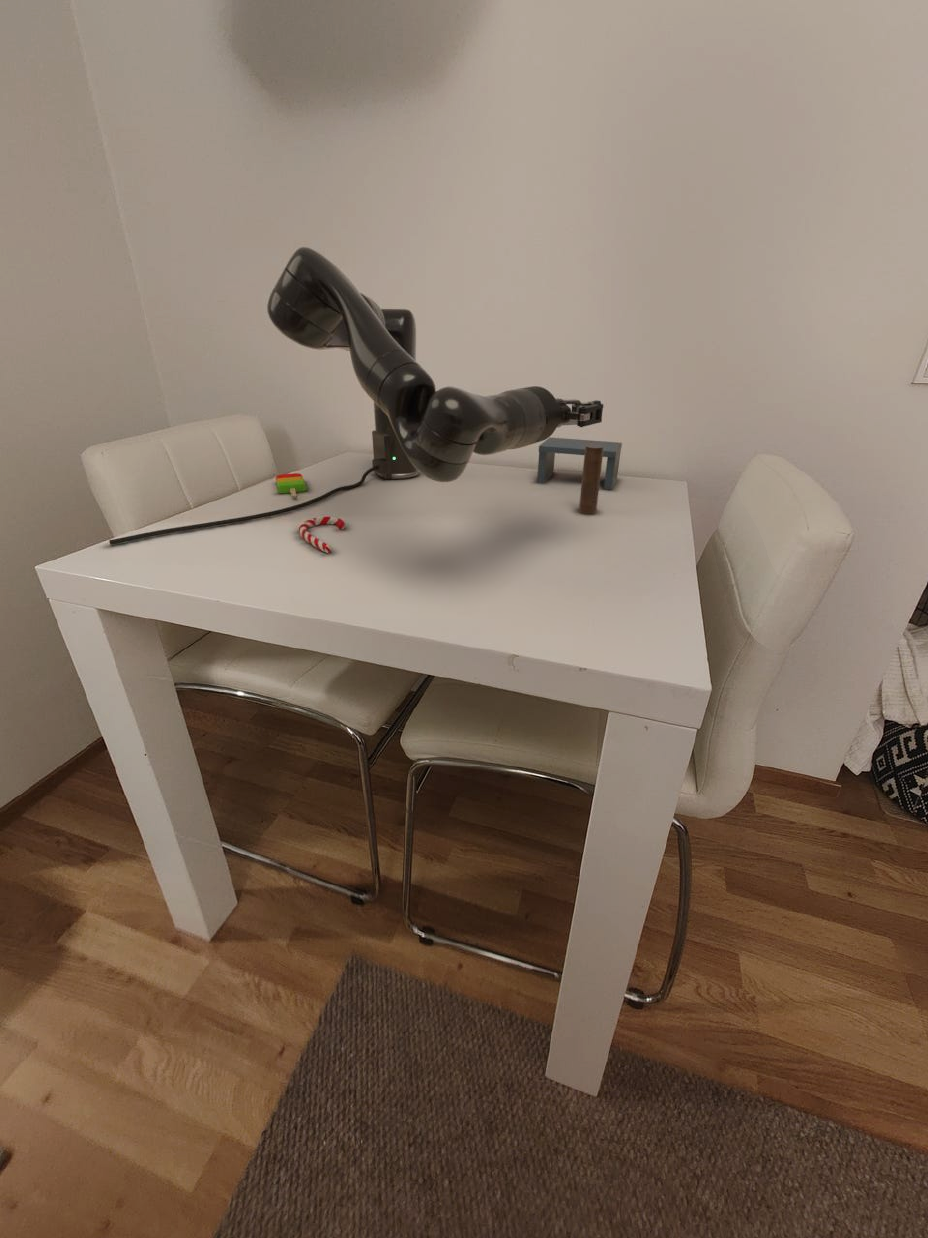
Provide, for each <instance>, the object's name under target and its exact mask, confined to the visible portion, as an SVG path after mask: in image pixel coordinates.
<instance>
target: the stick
mask: <svg viewBox="0 0 928 1238" xmlns="http://www.w3.org/2000/svg"><path fill="white" fill-rule="evenodd" d="M603 450H604V446H602V445H595V444H590V445H586V446H585V455H583V456H584V457H583V466H582V477H581V485H580V486H581V487H580V495H579V505H578V513H580V514H582V515H589V516H591V515H596V513H597V508H598V501H599V491H600V484H601V474H602V467H603V458H604V457H603Z"/></svg>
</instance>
